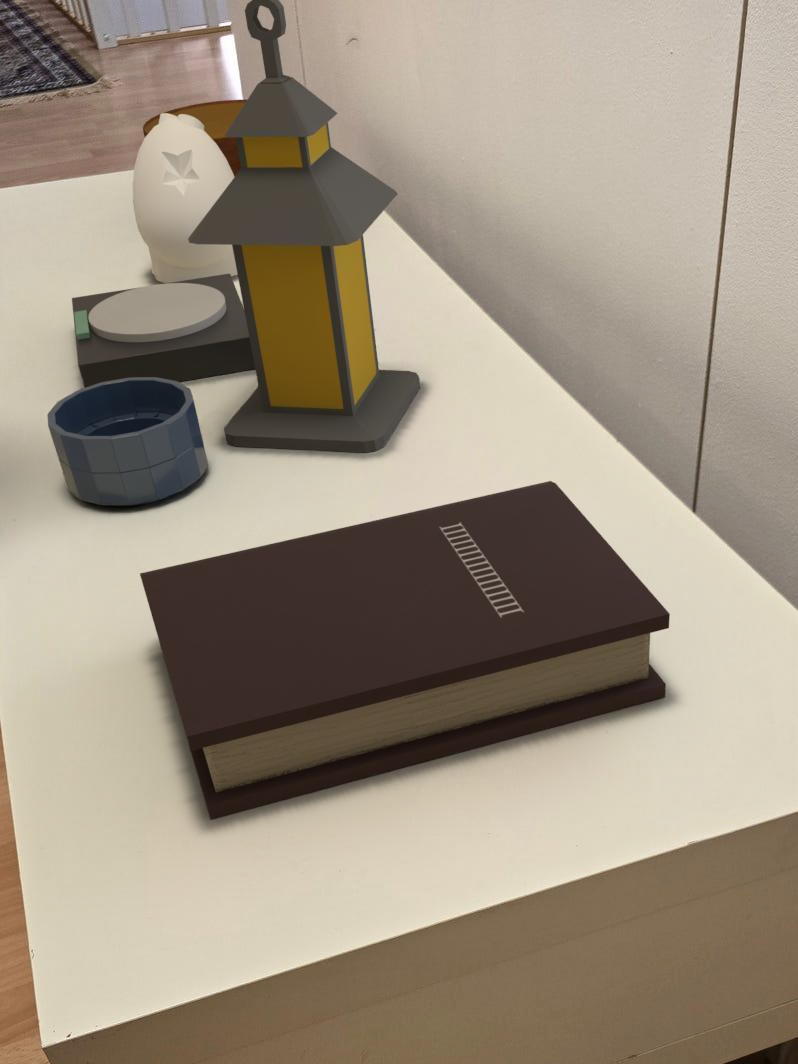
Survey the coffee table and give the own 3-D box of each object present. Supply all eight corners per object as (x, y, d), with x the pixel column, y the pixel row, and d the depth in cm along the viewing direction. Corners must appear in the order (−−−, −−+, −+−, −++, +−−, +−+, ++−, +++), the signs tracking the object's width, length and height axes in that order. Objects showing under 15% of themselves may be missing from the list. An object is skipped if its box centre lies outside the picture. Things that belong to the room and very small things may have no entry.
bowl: (159, 200, 154) (139, 110, 148) (297, 182, 157) (283, 92, 150) (167, 243, 142) (145, 147, 135) (316, 222, 144) (303, 127, 137)
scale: (87, 397, 111) (75, 355, 109) (80, 328, 124) (69, 289, 121) (260, 368, 114) (252, 327, 111) (235, 303, 127) (228, 264, 124)
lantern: (380, 453, 100) (326, 15, 79) (220, 445, 103) (128, 21, 82) (423, 381, 110) (386, -25, 89) (276, 376, 112) (206, -19, 92)
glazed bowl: (49, 512, 96) (25, 439, 92) (97, 447, 104) (76, 377, 100) (186, 512, 94) (168, 438, 90) (224, 446, 102) (209, 376, 98)
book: (546, 547, 87) (544, 470, 83) (665, 696, 74) (669, 613, 70) (158, 639, 82) (136, 561, 78) (210, 819, 68) (186, 736, 64)
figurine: (255, 286, 130) (226, 127, 119) (148, 298, 129) (110, 139, 119) (253, 252, 138) (226, 100, 127) (152, 263, 137) (117, 112, 127)
